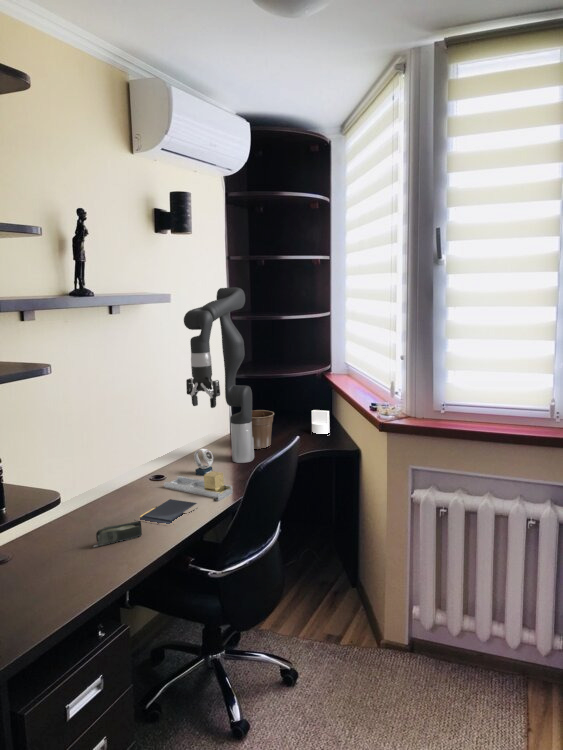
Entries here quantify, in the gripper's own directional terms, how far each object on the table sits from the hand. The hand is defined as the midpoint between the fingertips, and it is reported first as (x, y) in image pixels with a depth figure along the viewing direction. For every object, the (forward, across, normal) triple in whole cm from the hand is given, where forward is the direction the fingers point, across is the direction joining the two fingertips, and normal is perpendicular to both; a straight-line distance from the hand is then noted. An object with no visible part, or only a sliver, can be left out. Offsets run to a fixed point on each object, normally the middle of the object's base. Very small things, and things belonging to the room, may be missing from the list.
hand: (204, 406), depth 218 cm
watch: (+32, +9, -8) cm, 34 cm away
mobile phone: (+30, -6, +52) cm, 61 cm away
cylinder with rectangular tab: (+33, -4, -86) cm, 92 cm away
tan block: (+30, -9, +8) cm, 32 cm away
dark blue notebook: (+31, -5, +28) cm, 42 cm away
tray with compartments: (+31, -1, +8) cm, 32 cm away
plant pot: (+32, +12, -53) cm, 64 cm away
